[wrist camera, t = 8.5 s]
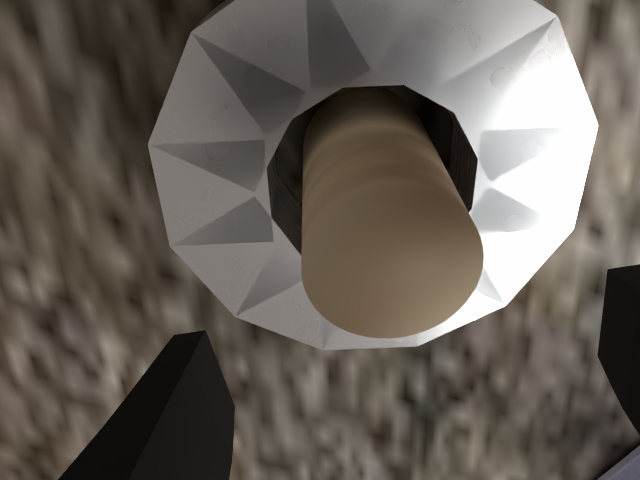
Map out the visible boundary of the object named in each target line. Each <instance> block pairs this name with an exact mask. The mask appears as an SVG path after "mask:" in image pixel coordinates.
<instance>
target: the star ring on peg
mask: <svg viewBox="0 0 640 480" xmlns="http://www.w3.org/2000/svg"><path fill="white" fill-rule="evenodd" d="M390 85H405V86H407V87H408V88H410V89H412V90H414V91H416V92H418V93H419V94H421V95H423V96H425V97H427V98H429V99H430V100H432V101H434V102H436V103H438V104H440V105H441V106H443V107H445V108H446V109H447V111H448V112H449V114H450V116H451V118H452V120H453V132H452V142H451V153H450V164H449V168H448V169H447V172H448V174H449V176H450V178H451V180H452V182H453V184H454V186H455V188H456V189H457V191H458V193H459V195H460V197H461V199H462V201H463V203H464V205H465V207H466V209H467V211H468V212H469V214H470V216H471V218H472V220H473V222H474V224H475V226H476V228H477V230H478V232H479V235H480V237H481V241H482V245H483V252H484V261H483V269H482V273H481V277H480V280H479V282H478V285H477V287H476V288H475V290H474V292H473V294H472V295H471V297H470V298H469V299H468V301H467V302H466V303H465V304H464V305H463V306H462V307H461V309H460V310H459V311H457V312H456V313H455V314H454V315H453V316H451V317H450V318H449V319H447V320H446V321H444V322H443V323H441V324H439V325H437V326H435V327H433V328H431V329H429V330H426V331H424V332H421V333H418V334H414V335H411V336H406V337H400V338H370V337H365V336H360V335H356V334H353V333H350V332H347V331H345V330H343V329H341V328H339V327H337V326H335V325H334V324H332V323H330V322H329V321H328V320H327V319H325V318H324V317H323V316H322V315H321V314H320V313H319V312H318V311H317V310H316V309H315V307H314V306H313V305H312V303H311V302H310V300H309V298H308V296H307V294H306V292H305V289H304V286H303V282H302V275H301V255H302V208H301V206H300V205H299V204H298V202H297V201H296V200H295V198H294V197H293V195H292V194H291V193H290V191H289V190H288V189H287V187H286V186H285V185H284V183H283V182H282V181H281V179H280V178H279V176H278V175H277V173H276V161H275V151H276V149H277V147H278V145H279V143H280V141H281V139H282V137H283V135H284V133H285V131H286V129H287V127H288V125H289V123H290V122H291V120H292V119H293V118H295V117H296V116H298V115H300V114H301V113H303V112H304V111H306V110H307V109H309V108H311V107H312V106H314V105H315V104H317V103H319V102H320V101H322V100H323V99H325V98H327V97H328V96H330V95H331V94H333V93H335V92H336V91H338V90H339V89H341V88H345V87H367V86H390ZM597 129H598V122H597V120H596V117H595V114H594V112H593V109H592V106H591V104H590V101H589V98H588V96H587V93H586V90H585V88H584V85H583V82H582V80H581V77H580V74H579V72H578V69H577V66H576V64H575V61H574V58H573V56H572V53H571V50H570V48H569V45H568V42H567V40H566V37H565V34H564V32H563V29H562V26H561V24H560V21H559V18H558V16H557V15H555V14H554V13H552V12H551V11H549V10H548V9H546V8H544V7H543V6H541V5H540V4H538V3H537V2H535V1H534V0H225V1H224V2H222V3H221V4H220V5H218V6H217V7H215V8H214V9H213V10H211V11H210V12H209V13H208V14H207V15H206V16H205V17H204V19H203V20H202V21H201V22H200V23H199V24H198V25H197V26H196V27H195V28H194V29H193V30H192V32H191V33H190V36H189V38H188V41H187V43H186V46H185V49H184V51H183V54H182V56H181V59H180V62H179V64H178V67H177V69H176V72H175V75H174V77H173V80H172V83H171V85H170V88H169V90H168V93H167V96H166V98H165V101H164V103H163V106H162V109H161V111H160V114H159V116H158V119H157V122H156V124H155V127H154V129H153V132H152V135H151V137H150V140H149V142H148V148H149V153H150V157H151V162H152V167H153V171H154V176H155V181H156V185H157V190H158V194H159V199H160V204H161V208H162V213H163V217H164V222H165V227H166V231H167V236H168V241H169V245H170V247H171V248H172V249H173V250H174V251H175V253H176V254H177V255H178V256H179V257H180V258H181V259H182V260H183V261H184V262H185V263H186V264H187V266H188V267H189V268H190V269H191V270H192V271H193V272H194V273H195V274H196V275H197V276H198V277H199V278H200V280H201V281H202V282H203V283H204V284H205V285H206V286H207V287H208V288H209V289H210V290H211V291H212V293H213V294H214V295H215V296H216V297H217V298H218V299H219V300H220V301H221V302H222V303H223V304H224V306H225V307H226V308H227V309H228V310H229V311H230V312H231V313H232V314H233V315H234V316H235V317H237V318H239V319H242V320H245V321H247V322H250V323H252V324H255V325H258V326H260V327H263V328H266V329H268V330H271V331H273V332H276V333H279V334H281V335H284V336H287V337H289V338H292V339H294V340H297V341H300V342H302V343H305V344H307V345H310V346H313V347H315V348H318V349H321V350H341V349H366V348H390V347H415V346H419V345H422V344H424V343H426V342H428V341H430V340H432V339H435V338H437V337H439V336H441V335H443V334H445V333H448V332H450V331H452V330H454V329H456V328H459V327H461V326H463V325H465V324H467V323H469V322H472V321H474V320H476V319H478V318H480V317H483V316H485V315H487V314H489V313H491V312H493V311H496V310H498V309H500V308H502V307H504V306H506V305H507V304H508V303H509V302H510V301H511V300H512V299H513V297H514V296H515V295H516V294H517V293H518V292H519V291H520V289H521V288H522V287H523V286H524V285H525V284H526V283H527V282H528V280H529V279H530V278H531V277H532V276H533V275H534V274H535V273H536V271H537V270H538V269H539V268H540V267H541V266H542V265H543V263H544V262H545V261H546V260H547V259H548V258H549V257H550V256H551V254H552V253H553V252H554V251H555V250H556V249H557V248H558V246H559V245H560V244H561V243H562V242H563V241H564V240H565V239H566V237H567V236H568V235H569V234H570V233H571V232H572V231H573V229H574V226H575V222H576V217H577V213H578V209H579V205H580V201H581V196H582V192H583V188H584V184H585V180H586V175H587V171H588V167H589V163H590V158H591V154H592V150H593V146H594V142H595V137H596V133H597Z"/></svg>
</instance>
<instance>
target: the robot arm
mask: <svg viewBox="0 0 640 480" xmlns="http://www.w3.org/2000/svg"><path fill="white" fill-rule="evenodd" d="M598 358H599V360H600V362H601V364H602V366H603V369H604V371H605V373H606V375H607V377H608V379H609V382H610V384H611V386H612V388H613V390H614V392H615V394H616V396H617V398H618V400H619V402H620V404H621V406H622V408H623V410H624V411H625V413H626V415H627V416H628V418H629V419H630V421H631V423H632V424H633V426H634V427H635V429H636V430H637V432H638V434H639V435H640V264H639V265H633V266H626V267H620V268H613V269H608V271H607V280H606V288H605V297H604V306H603V314H602V323H601V331H600V340H599V348H598ZM234 412H235V406H234V403H233V401H232V398H231V395H230V393H229V390H228V387H227V385H226V382H225V380H224V377H223V374H222V372H221V369H220V366H219V364H218V361H217V358H216V356H215V353H214V351H213V348H212V345H211V343H210V340H209V337H208V335H207V332H206V330H204V331H198V332H191V333H185V334H178V335H174V336H173V337H172V338H171V340H170V341H169V342H168V343H167V345H166V346H165V347H164V348H163V350H162V351H161V352H160V354H159V355H158V356H157V358H156V359H155V360H154V362H153V363H152V364H151V366H150V367H149V368H148V370H147V371H146V372H145V374H144V375H143V376H142V377H141V379H140V380H139V381H138V383H137V384H136V385H135V387H134V388H133V389H132V391H131V392H130V393H129V395H128V396H127V397H126V398H125V400H124V401H123V402H122V403H121V405H120V406H119V407H118V409H117V410H116V411H115V412H114V414H113V415H112V416H111V417H110V419H109V420H108V421H107V422H106V424H105V425H104V426H103V428H102V429H101V430H100V431H99V432H98V433H97V435H96V436H95V437H94V438H93V439H92V440H91V442H90V443H89V444H88V445H87V446H86V447H85V449H84V450H83V451H82V452H81V453H80V455H79V456H78V457H77V458H76V459H75V460H74V462H73V463H72V464H71V465H70V466H69V467H68V469H67V470H66V471H65V472H64V473H63V474H62V476H61V477H60V478H59V479H58V480H229V475H230V469H231V463H232V453H233V437H234ZM597 480H640V446H638V447H637V448H636V449H635V450H633V451H632V452H631V453H630V454H628V455H627V456H626V457H625V458H623V459H622V460H621V461H620V462H618V463H617V464H616V465H615V466H613V467H612V468H611V469H610V470H608V471H607V472H606V473H605V474H603V475H602V476H601V477H600V478H598V479H597Z"/></svg>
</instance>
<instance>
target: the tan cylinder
mask: <svg viewBox="0 0 640 480" xmlns="http://www.w3.org/2000/svg"><path fill="white" fill-rule="evenodd" d="M483 261H484V252H483V245H482V241H481V237H480V235H479V232H478V230H477V228H476V226H475V224H474V222H473V220H472V218H471V216H470V214H469V212H468V211H467V209H466V207H465V205H464V203H463V201H462V199H461V197H460V195H459V193H458V191H457V189H456V188H455V186H454V184H453V182H452V180H451V178H450V176H449V174H448V172H447V170H446V168H445V166H444V164H443V163H442V161H441V159H440V157H439V155H438V153H437V151H436V149H435V147H434V145H433V143H432V141H431V140H430V138H429V136H428V134H427V132H426V130H425V128H424V126H423V124H422V122H421V120H420V118H419V116H418V115H417V113H416V112H415V110H414V109H413V108H412V107H411V106H410V105H409V104H408V103H407V102H406V101H405V100H404V99H402V98H401V97H399V96H398V95H396V94H394V93H391V92H389V91H386V90H383V89H378V88H356V89H352V90H348V91H345V92H342V93H340V94H338V95H336V96H334V97H332V98H331V99H329V100H328V101H327V102H325V103H324V104H323V105H322V106H321V107H320V108H319V109H318V110H317V112H316V113H315V114H314V115H313V117H312V119H311V120H310V122H309V124H308V127H307V129H306V133H305V136H304V143H303V196H302V255H301V275H302V282H303V286H304V289H305V292H306V294H307V296H308V298H309V300H310V302H311V303H312V305H313V306H314V307H315V309H316V310H317V311H318V312H319V313H320V314H321V315H322V316H323V317H324V318H325V319H327V320H328V321H329V322H330V323H332V324H334V325H335V326H337V327H339V328H341V329H343V330H345V331H347V332H350V333H353V334H356V335H360V336H365V337H370V338H400V337H406V336H411V335H414V334H418V333H421V332H424V331H426V330H429V329H431V328H433V327H435V326H437V325H439V324H441V323H443V322H444V321H446V320H447V319H449V318H450V317H451V316H453V315H454V314H455V313H456V312H457V311H459V310H460V309H461V307H462V306H463V305H464V304H465V303H466V302H467V301H468V299H469V298H470V297H471V295H472V294H473V292H474V290H475V288H476V287H477V285H478V282H479V280H480V277H481V273H482V269H483Z"/></svg>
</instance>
